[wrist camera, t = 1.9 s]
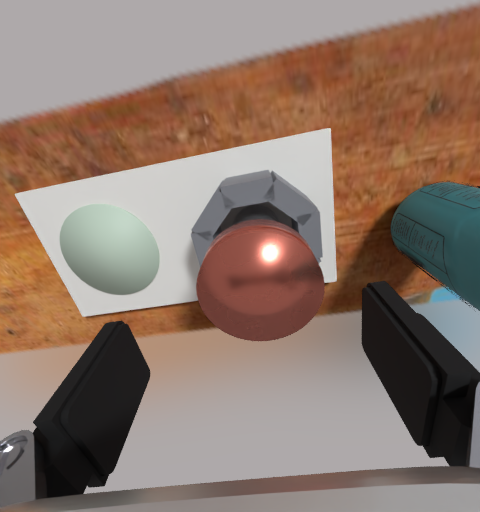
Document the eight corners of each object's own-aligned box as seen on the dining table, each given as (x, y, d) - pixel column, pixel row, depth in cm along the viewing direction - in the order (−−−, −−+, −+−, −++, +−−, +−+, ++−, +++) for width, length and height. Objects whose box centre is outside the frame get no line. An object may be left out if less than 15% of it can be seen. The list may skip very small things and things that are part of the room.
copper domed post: (300, 193, 20) (339, 239, 11) (287, 264, 23) (309, 346, 14) (221, 185, 20) (197, 225, 11) (217, 257, 23) (195, 335, 14)
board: (326, 128, 19) (349, 126, 15) (333, 275, 25) (351, 307, 20) (23, 191, 22) (-34, 206, 18) (88, 310, 28) (56, 345, 23)
